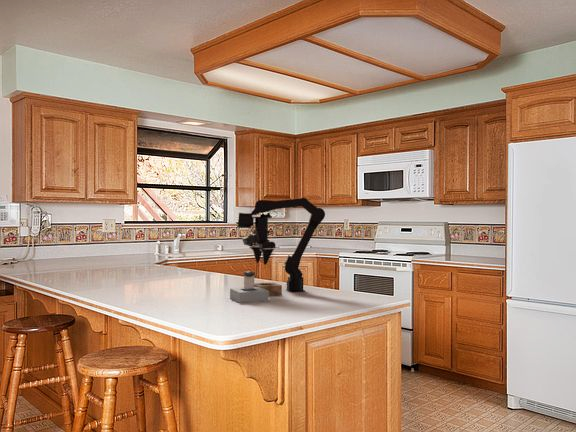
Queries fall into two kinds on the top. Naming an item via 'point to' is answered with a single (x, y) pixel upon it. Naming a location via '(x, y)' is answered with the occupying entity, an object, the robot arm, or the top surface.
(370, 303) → the top surface
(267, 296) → the socket block
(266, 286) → the pin mount
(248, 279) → the lock pin
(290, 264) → the robot arm
